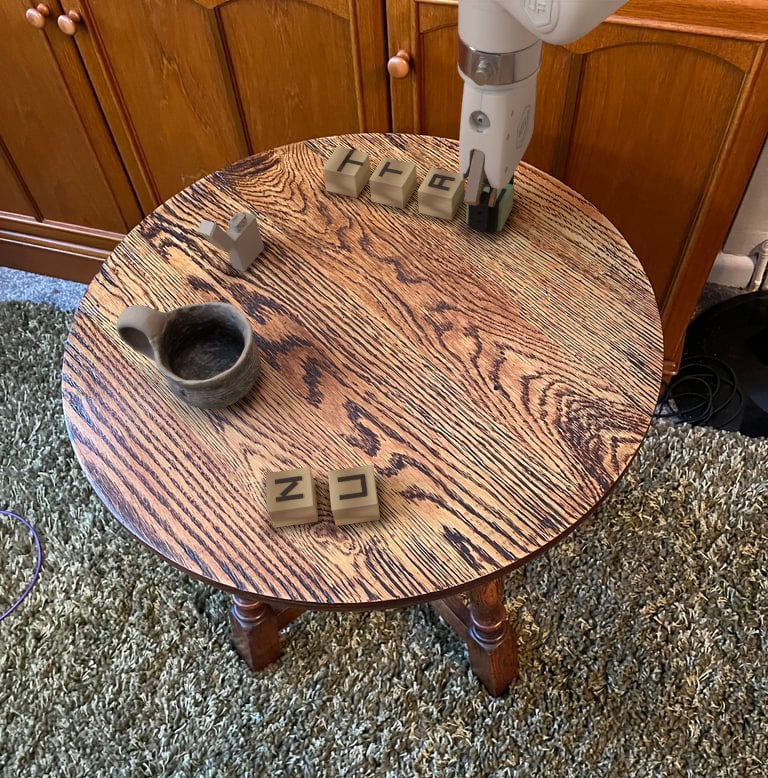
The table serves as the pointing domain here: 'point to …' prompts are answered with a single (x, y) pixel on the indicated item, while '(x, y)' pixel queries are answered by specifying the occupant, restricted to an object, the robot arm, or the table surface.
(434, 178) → the right tile
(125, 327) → the mug
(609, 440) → the table surface
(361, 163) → the beige letter block
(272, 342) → the table surface
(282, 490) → the left tile
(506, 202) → the green number block
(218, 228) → the grey y-shaped block
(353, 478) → the left tile
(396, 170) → the right tile t
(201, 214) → the table surface
